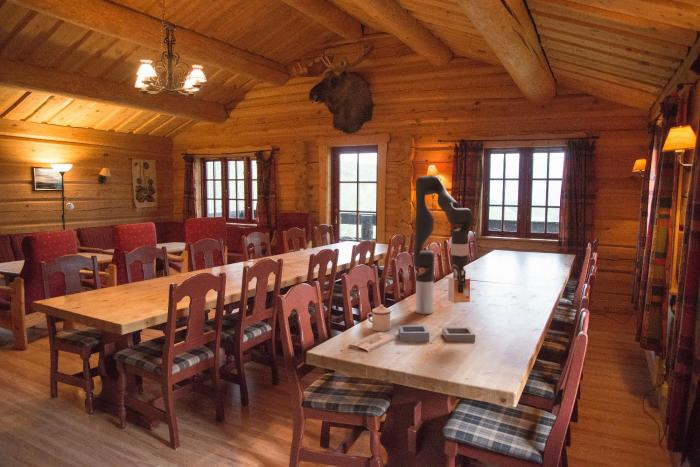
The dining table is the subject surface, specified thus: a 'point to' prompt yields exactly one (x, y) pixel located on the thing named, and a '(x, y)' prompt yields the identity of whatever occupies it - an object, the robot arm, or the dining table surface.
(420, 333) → the port sleeve
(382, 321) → the teacup with lid
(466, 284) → the small box
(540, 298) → the dining table surface
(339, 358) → the dining table surface
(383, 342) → the newspaper
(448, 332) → the frame
